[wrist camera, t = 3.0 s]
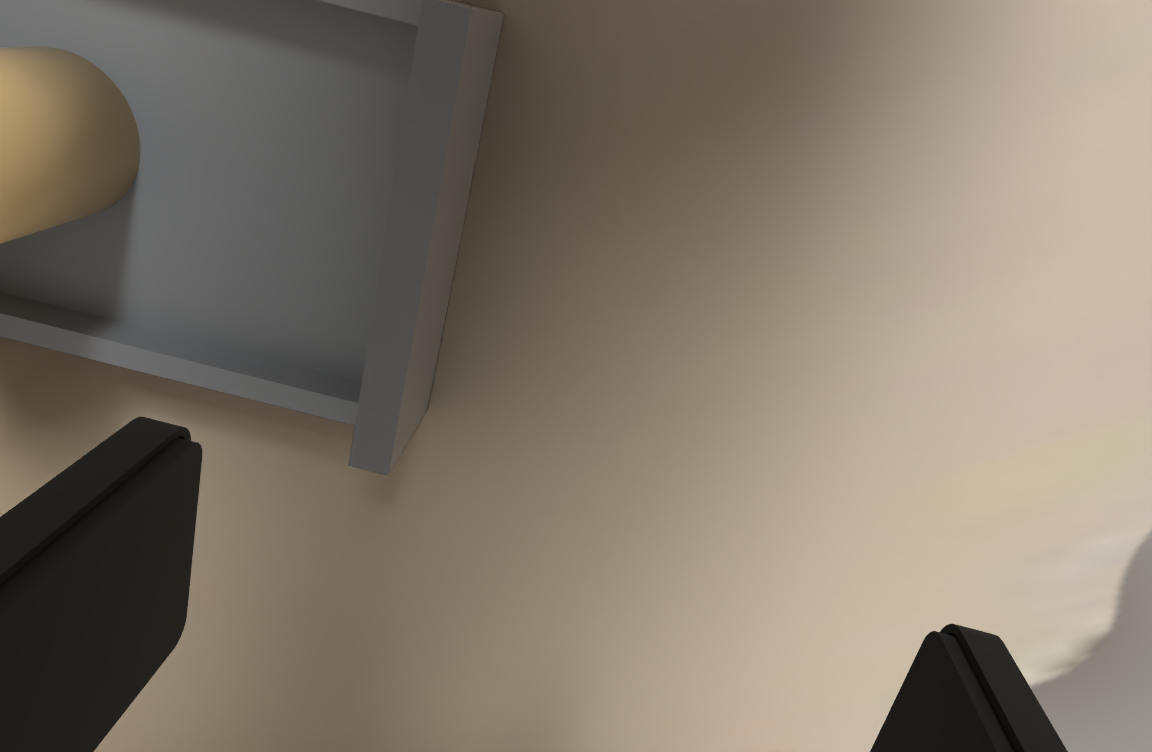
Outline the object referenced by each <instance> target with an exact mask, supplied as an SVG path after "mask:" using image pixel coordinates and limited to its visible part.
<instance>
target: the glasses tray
mask: <svg viewBox="0 0 1152 752" xmlns="http://www.w3.org/2000/svg"><path fill="white" fill-rule="evenodd" d="M503 17H504V13H500V12H496V11H492V10H488V9H484V8H481V7H477V6H473V5H469V4H465V3H461V2H457V1H453V0H0V337H4V338H8V339H12V340H16V341H20V342H24V343H28V344H32V345H36V346H40V347H44V348H48V349H52V350H56V351H60V352H64V353H68V354H72V355H76V356H80V357H84V358H88V359H92V360H96V361H100V362H104V363H108V364H112V365H116V366H120V367H124V368H128V369H132V370H136V371H140V372H144V373H148V374H152V375H156V376H160V377H164V378H167V379H171V380H175V381H179V382H183V383H187V384H191V385H195V386H199V387H203V388H207V389H211V390H215V391H219V392H223V393H227V394H231V395H235V396H239V397H243V398H247V399H251V400H255V401H259V402H263V403H267V404H271V405H275V406H279V407H283V408H287V409H291V410H295V411H299V412H303V413H307V414H311V415H315V416H319V417H323V418H327V419H331V420H335V421H339V422H343V423H347V424H351V425H355V428H354V434H353V440H352V447H351V453H350V459H349V466H352V467H356V468H360V469H364V470H368V471H372V472H376V473H380V474H384V475H389V474H390V472H391V470H392V469H393V467H394V465H395V463H396V462H397V460H398V458H399V457H400V455H401V453H402V452H403V450H404V448H405V447H406V445H407V443H408V442H409V440H410V438H411V437H412V435H413V433H414V432H415V430H416V428H417V427H418V425H419V423H420V422H421V420H422V418H423V417H424V415H425V413H426V412H427V410H428V407H429V402H430V397H431V392H432V387H433V381H434V376H435V371H436V366H437V360H438V355H439V350H440V345H441V340H442V334H443V329H444V324H445V319H446V314H447V308H448V303H449V298H450V293H451V288H452V282H453V277H454V272H455V267H456V262H457V256H458V251H459V246H460V241H461V235H462V230H463V225H464V220H465V215H466V209H467V204H468V199H469V194H470V189H471V183H472V178H473V173H474V168H475V163H476V157H477V152H478V147H479V142H480V136H481V131H482V126H483V121H484V116H485V110H486V105H487V100H488V95H489V90H490V84H491V79H492V74H493V69H494V64H495V58H496V53H497V48H498V43H499V38H500V32H501V27H502V22H503Z"/></svg>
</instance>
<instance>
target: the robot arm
mask: <svg viewBox="0 0 1152 752" xmlns="http://www.w3.org/2000/svg"><path fill="white" fill-rule="evenodd" d="M201 463H202V448H201V445H200V444H199V443H196V442H192V441H191V436H190V432H189V430H188V429H187V428H185V427H181V426H177V425H173V424H169V423H165V422H161V421H157V420H153V419H150V418H146V417H138V418H136V419H134V420H132V421H131V422H129V423H128V424H127V425H125V426H124V427H123V428H121V429H120V430H119V431H117V432H116V433H114V434H113V435H112V436H110V437H109V438H108V439H106V440H105V441H104V442H102V443H101V444H99V445H98V446H97V447H95V448H94V449H93V450H91V451H90V452H89V453H87V454H86V455H84V456H83V457H82V458H80V459H79V460H78V461H76V462H75V463H74V464H72V465H71V466H69V467H68V468H67V469H65V470H64V471H63V472H61V473H60V474H59V475H57V476H56V477H54V478H53V479H52V480H50V481H49V482H48V483H46V484H45V485H43V486H42V487H41V488H39V489H38V490H37V491H35V492H34V493H33V494H31V495H30V496H28V497H27V498H26V499H24V500H23V501H22V502H20V503H19V504H18V505H16V506H15V507H13V508H12V509H11V510H9V511H8V512H7V513H5V514H4V515H2V516H1V517H0V752H93V751H94V750H95V749H96V748H97V746H98V745H99V744H100V742H101V741H102V740H103V739H104V737H105V736H106V735H107V734H108V732H109V731H110V730H111V728H112V727H113V726H114V725H115V723H116V722H117V721H118V720H119V718H120V717H121V716H122V714H123V713H124V712H125V711H126V709H127V708H128V707H129V705H130V704H131V703H132V702H133V700H134V699H135V698H136V697H137V695H138V694H139V693H140V691H141V690H142V689H143V688H144V686H145V685H146V684H147V682H148V681H149V680H150V679H151V677H152V676H153V675H154V674H155V672H156V671H157V670H158V668H159V667H160V666H161V665H162V663H163V662H164V661H165V660H166V658H167V657H168V656H169V654H170V653H171V652H172V651H173V649H174V648H175V646H176V645H177V643H178V641H179V639H180V637H181V635H182V632H183V629H184V626H185V622H186V617H187V607H188V596H189V586H190V576H191V566H192V555H193V545H194V535H195V524H196V514H197V504H198V493H199V483H200V473H201ZM870 752H1068V751H1067V750H1066V748H1065V746H1064V745H1063V743H1062V741H1061V740H1060V738H1059V736H1058V735H1057V733H1056V731H1055V729H1054V728H1053V726H1052V724H1051V723H1050V721H1049V719H1048V717H1047V716H1046V714H1045V712H1044V711H1043V709H1042V707H1041V706H1040V704H1039V702H1038V701H1037V699H1036V697H1035V695H1034V694H1033V692H1032V690H1031V689H1030V687H1029V685H1028V683H1027V682H1026V680H1025V678H1024V677H1023V675H1022V673H1021V672H1020V670H1019V668H1018V666H1017V665H1016V663H1015V661H1014V660H1013V658H1012V656H1011V655H1010V653H1009V651H1008V649H1007V648H1006V646H1005V644H1004V643H1003V641H1002V640H1001V639H1000V638H999V636H996V635H994V634H990V633H986V632H982V631H979V630H975V629H971V628H967V627H963V626H959V625H955V624H949V625H946V626H945V627H944V628H943V629H942V630H941V631H940V632H936V631H933V632H930V633H929V634H928V635H927V636H926V637H925V639H924V641H923V643H922V645H921V647H920V649H919V651H918V653H917V655H916V657H915V659H914V661H913V664H912V666H911V668H910V670H909V672H908V674H907V676H906V678H905V680H904V682H903V684H902V686H901V689H900V691H899V693H898V695H897V697H896V699H895V701H894V703H893V705H892V707H891V709H890V711H889V714H888V716H887V718H886V720H885V722H884V724H883V726H882V728H881V730H880V732H879V734H878V736H877V739H876V741H875V743H874V745H873V747H872V749H871V751H870Z"/></svg>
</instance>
